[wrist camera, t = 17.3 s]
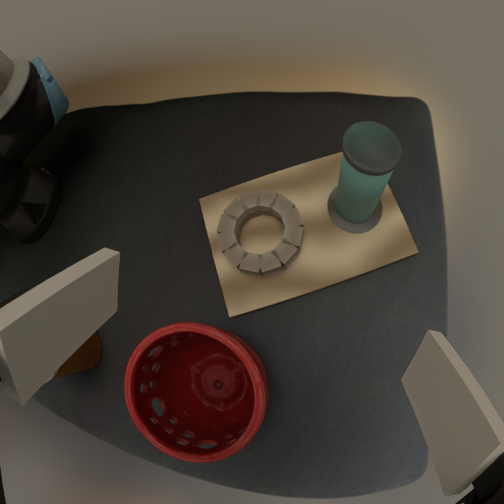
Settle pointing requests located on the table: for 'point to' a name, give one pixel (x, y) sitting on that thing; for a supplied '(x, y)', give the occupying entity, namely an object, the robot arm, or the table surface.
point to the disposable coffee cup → (82, 357)
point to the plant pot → (197, 391)
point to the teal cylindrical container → (365, 169)
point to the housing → (296, 236)
